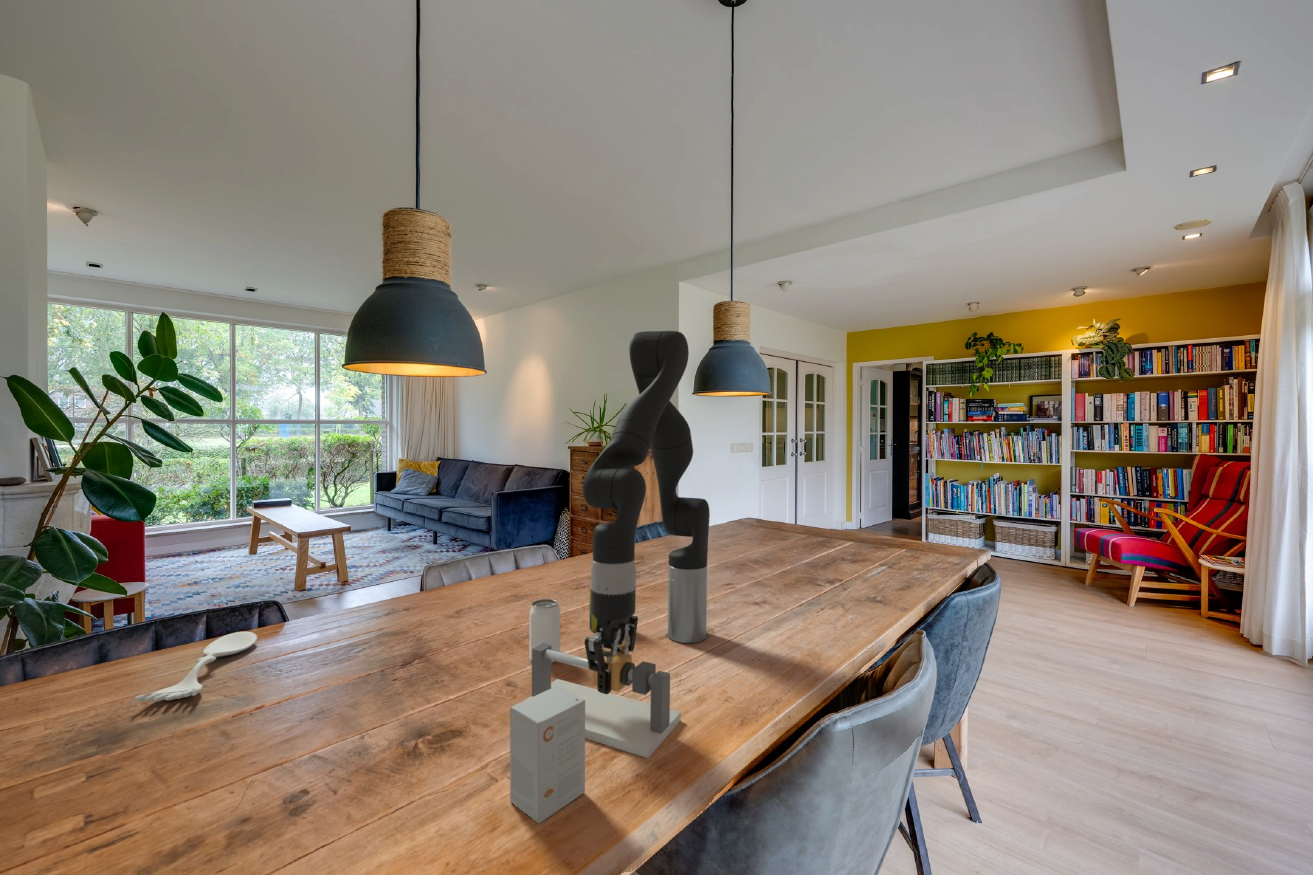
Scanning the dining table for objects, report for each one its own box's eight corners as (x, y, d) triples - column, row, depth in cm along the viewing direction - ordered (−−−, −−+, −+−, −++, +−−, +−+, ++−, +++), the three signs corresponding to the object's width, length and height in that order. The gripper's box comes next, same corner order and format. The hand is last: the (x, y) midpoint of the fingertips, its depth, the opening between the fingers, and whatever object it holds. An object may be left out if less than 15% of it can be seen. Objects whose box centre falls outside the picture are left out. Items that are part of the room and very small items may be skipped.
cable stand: (557, 686, 105) (557, 630, 105) (680, 720, 93) (681, 657, 93) (514, 715, 94) (515, 653, 94) (648, 758, 83) (649, 687, 82)
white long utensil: (131, 716, 93) (131, 696, 93) (217, 644, 124) (217, 629, 123) (195, 709, 96) (195, 689, 96) (264, 640, 126) (264, 625, 126)
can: (553, 666, 114) (553, 609, 113) (524, 663, 115) (524, 606, 115) (564, 653, 120) (565, 599, 120) (537, 651, 121) (537, 597, 121)
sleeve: (606, 674, 95) (606, 649, 95) (631, 680, 93) (631, 655, 93) (592, 684, 91) (592, 658, 91) (618, 691, 89) (618, 665, 89)
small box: (556, 773, 79) (556, 684, 79) (586, 793, 75) (586, 698, 74) (508, 802, 73) (508, 705, 72) (538, 825, 68) (538, 723, 68)
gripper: (610, 601, 84) (609, 711, 84) (652, 578, 97) (651, 673, 97) (570, 593, 87) (569, 699, 88) (615, 572, 100) (614, 665, 100)
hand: (612, 685), depth 92 cm, fingers closed on sleeve, 4 cm apart
